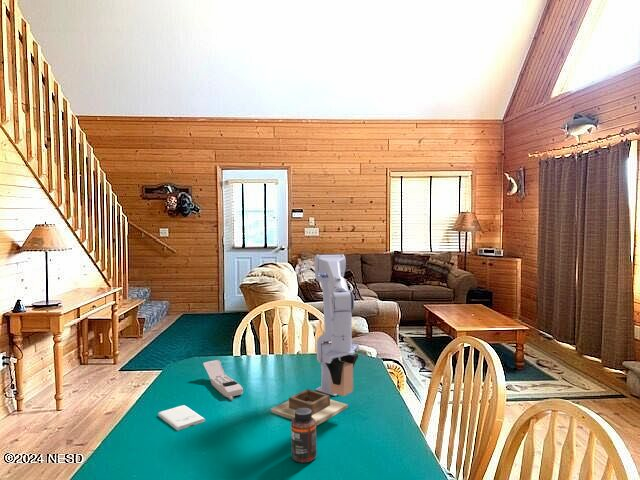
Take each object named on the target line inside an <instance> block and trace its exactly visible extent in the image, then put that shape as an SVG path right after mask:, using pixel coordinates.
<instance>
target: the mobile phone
mask: <svg viewBox="0 0 640 480" xmlns="http://www.w3.org/2000/svg"><path fill="white" fill-rule="evenodd" d="M203 366H204V368H205V370H206V372H207V375H208V377H209V379H210V384H211V385H212V386H213V387H214V388H215V389H216V390H217V391H218V392H219V393H220V394H221V395H222V396H223V397H226V398H228V400H230V401H234V397H235V396H240V395H243V393H244V389H243V388H244V387H243V386H242V385H241V384H239V382H237V381H236V380H234V379H233V378H231V377H230V376H228V375H227V374H226V372H225V371H224V368H223V365H222V363H221V361H220V359H215V360H209V361H205V362H203Z"/></svg>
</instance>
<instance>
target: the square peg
mask: <svg viewBox="0 0 640 480" xmlns="http://www.w3.org/2000/svg"><path fill="white" fill-rule="evenodd" d="M342 362H344V361H342ZM352 392H354V367H353V364H352V363H348V362H345V363H344V365H343V369H342V373H341V383H340V385H336V384H333V382H332V378H331V393H335V394H338V396H342V397H345V396H347V395H349V394H350V393H352Z"/></svg>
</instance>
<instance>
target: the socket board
mask: <svg viewBox="0 0 640 480" xmlns="http://www.w3.org/2000/svg"><path fill="white" fill-rule="evenodd" d="M348 405H349V404H347V403H344V402H340V401H337V400H334V399H331V395H330V394H326V393H323V392H320V391H316V390H313V389H309V388H307V389H305V390H302V391H300V392H298V393H296V394H294V395H292V396H290V397H288V400H287V401H284V402H282V403H280V404H279V405H276V406H274V407H272V408H270V413H272V414H275V415H278V416H281V417H283V418H287V419H289V420H291V421H292V420H293V419H294V418H295V410H297V409H299V408H309V409H311V411H312V418H314V419H315V421H316V427H317V426H319V425H320V424H322V423H324V422H326V421H328V420H329V419H331V418H332V417H334V416H336V415H338V414H340V413H341V412H343V411H345V410H346V409H348V408H349V407H348Z"/></svg>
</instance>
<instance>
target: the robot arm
mask: <svg viewBox="0 0 640 480" xmlns="http://www.w3.org/2000/svg"><path fill="white" fill-rule="evenodd" d="M346 265H347V262H346V256H345V255H344V254H343V253H341V254H318V253H317V254H315V255H314V277H315V280H316V281H317V282H319V283H320V284H321V288H322V299H323V300H322V301H323V323H324V326H323V327H324V332H323V333H322V334H321V335H320V336H319V337H318V338H317V339H316V361H317V362H318V363H319V364H321V365H320V370H321V371H320V372H321V377H320V378H321V379H320V380H321V382H320V383H321V386H319V387H317V388H315V391H316V392H319V393H323V394H326V395H330V396H333V397H336V396H337V395H338V394H335V393H331V378H332V382H333V384H336V385H340V383H341V373H342V369H343V365H344V363H345V362H348V363H352V364H353V368H354V367H355V364H356V362H357V360H358V358H359V354H358V353H356V352H359V351H360V349H359V348H360V347H359V346H360V345H359V343H354V342H353V338H352V337H353V334H352V329H353V328H352V327H353V326H352V325H353V323H352V322H353V321H352V319H353V318H352V316H353V315H352V313H353V312H354V308H355V298H354V294H353V291H352V290H350V289H349V287H348V283H347V280H346V278H344V277H345V273H346V270H347V269H346V268H347V266H346ZM342 361H344V362H342ZM338 396H339V395H338Z"/></svg>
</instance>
